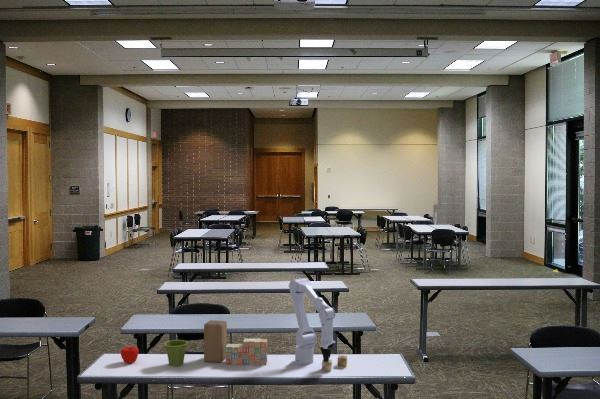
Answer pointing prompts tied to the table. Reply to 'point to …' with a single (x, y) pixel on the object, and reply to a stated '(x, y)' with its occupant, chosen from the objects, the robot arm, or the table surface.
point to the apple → (129, 354)
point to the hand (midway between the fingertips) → (327, 359)
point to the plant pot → (176, 351)
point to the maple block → (327, 365)
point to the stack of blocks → (247, 352)
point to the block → (215, 341)
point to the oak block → (342, 361)
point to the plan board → (342, 367)
